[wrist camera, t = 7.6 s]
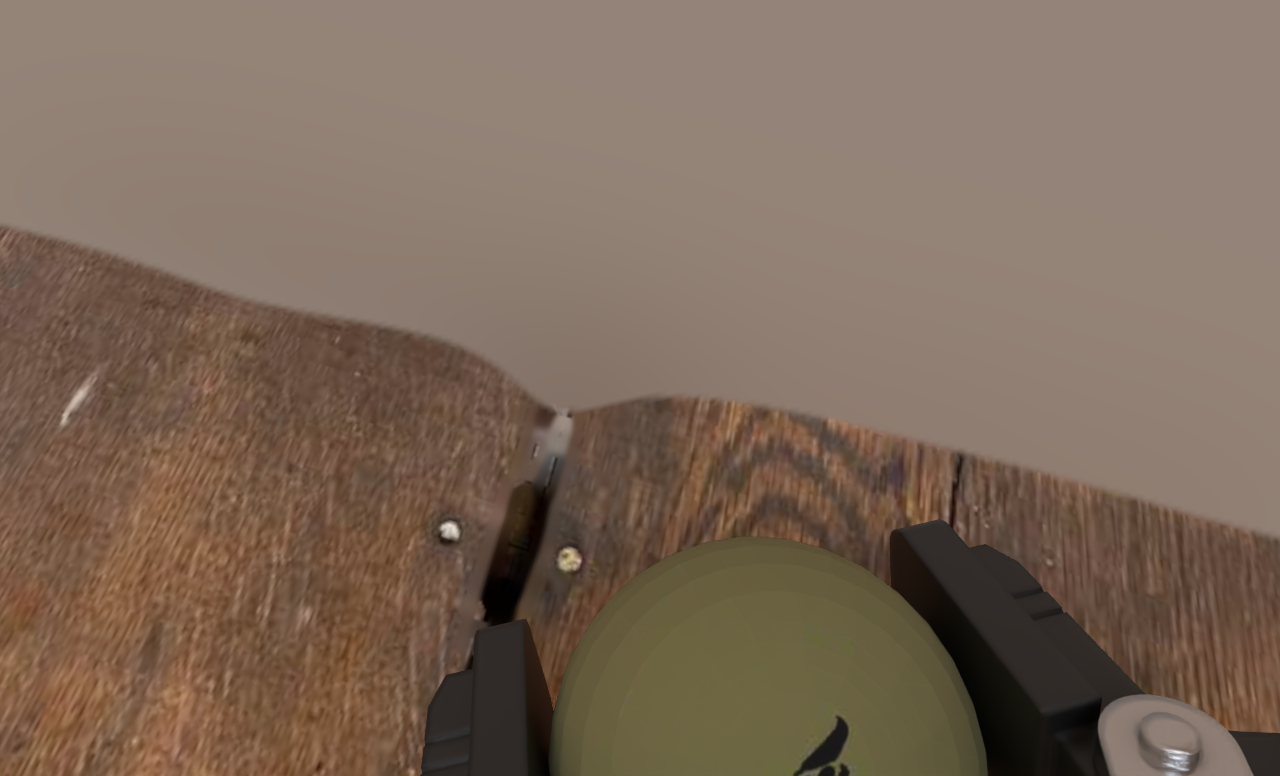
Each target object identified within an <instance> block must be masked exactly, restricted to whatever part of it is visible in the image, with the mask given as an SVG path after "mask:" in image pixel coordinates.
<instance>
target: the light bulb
mask: <svg viewBox="0 0 1280 776" xmlns="http://www.w3.org/2000/svg"><path fill="white" fill-rule="evenodd" d="M548 762H549V773H550V776H988V772H987V760H986V750H985V747H984V743H983V739H982V735H981V731H980V728H979V724H978V720H977V716H976V712H975V709H974V705H973V702H972V700H971V698H970V695H969V693H968V691H967V689H966V687H965V684H964V682H963V680H962V678H961V676H960V674H959V671H958V669H957V667H956V665H955V663H954V660H953V659H952V657H951V656H950V655H949V653H948V652H947V650H946V649H945V647H944V646H943V644H942V643H941V641H940V640H939V638H938V637H937V636H936V634H935V633H934V631H933V630H932V628H931V627H930V625H929V624H928V623H927V622H926V621H925V620H924V619H923V618H922V617H921V616H920V615H919V613H918V612H917V611H916V610H915V609H914V608H913V607H912V606H911V605H910V604H909V603H908V602H907V601H906V600H905V599H904V598H903V597H902V596H901V595H900V594H899V593H898V592H897V591H895V590H894V589H892V588H891V587H890V586H888V585H887V584H885V583H884V582H883V581H881V580H880V579H878V578H877V577H876V576H874V575H873V574H871V573H870V572H869V571H867V570H866V569H864V568H863V567H861V566H860V565H857V564H855V563H853V562H851V561H849V560H847V559H845V558H842V557H840V556H838V555H836V554H834V553H832V552H830V551H828V550H825V549H823V548H819V547H815V546H811V545H807V544H803V543H799V542H795V541H791V540H787V539H780V538H768V537H737V538H731V539H724V540H718V541H712V542H706V543H703V544H700V545H697V546H695V547H692V548H689V549H686V550H684V551H681V552H678V553H675V554H673V555H670V556H667V557H666V558H664V559H662V560H661V561H659V562H658V563H656V564H654V565H653V566H651V567H649V568H648V569H646V570H644V571H643V572H641V573H640V574H638V575H636V576H635V577H634V578H633V579H632V580H631V581H629V582H628V583H627V584H626V585H625V586H624V587H623V588H621V589H620V590H619V591H618V592H617V593H616V594H615V595H614V596H613V597H612V598H611V599H610V600H609V601H608V603H607V604H606V605H605V606H604V607H603V608H602V609H601V611H600V612H599V613H598V614H597V615H596V616H595V618H594V619H593V621H592V622H591V624H590V626H589V627H588V629H587V631H586V632H585V634H584V636H583V637H582V639H581V640H580V642H579V644H578V645H577V647H576V649H575V650H574V652H573V654H572V656H571V659H570V661H569V663H568V666H567V668H566V671H565V673H564V676H563V679H562V683H561V686H560V690H559V694H558V698H557V701H556V705H555V709H554V713H553V716H552V725H551V737H550V749H549V760H548Z"/></svg>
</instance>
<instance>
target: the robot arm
mask: <svg viewBox="0 0 1280 776" xmlns="http://www.w3.org/2000/svg"><path fill="white" fill-rule="evenodd" d="M890 571H891V588H892V589H894V590H895V591H897V592H898V593H899V594H900V595H901V596H902V597H903V598H904V599H905V600H906V601H907V602H908V603H909V604H910V605H911V606H912V607H913V608H914V609H915V610H916V611H917V612H918V613H919V615H920V616H921V617H922V618H923V619H924V620H925V621H926V622H927V623H928V624H929V625H930V627H931V628H932V630H933V631H934V633H935V634H936V636H937V637H938V638H939V640H940V641H941V643H942V644H943V646H944V647H945V649H946V650H947V652H948V653H949V655H950V656H951V657H952V659H953V660H954V663H955V665H956V667H957V669H958V671H959V674H960V676H961V678H962V680H963V682H964V684H965V687H966V689H967V691H968V693H969V695H970V698H971V700H972V702H973V705H974V709H975V712H976V716H977V720H978V724H979V728H980V731H981V735H982V739H983V743H984V747H985V750H986V760H987V772H988V776H1280V733H1261V732H1239V731H1228V730H1226V729H1225V728H1224V727H1223V726H1222V725H1221V724H1220V723H1218V722H1217V721H1216V720H1214V719H1213V718H1212V717H1210V716H1209V715H1207V714H1206V713H1204V712H1202V711H1201V710H1199V709H1197V708H1195V707H1193V706H1191V705H1188V704H1186V703H1183V702H1181V701H1178V700H1175V699H1171V698H1167V697H1163V696H1157V695H1146V694H1145V693H1144V692H1143V691H1142V690H1141V689H1140V688H1139V687H1138V686H1137V685H1136V684H1135V683H1134V682H1133V681H1132V680H1131V679H1130V678H1129V677H1128V676H1127V675H1126V674H1125V673H1124V672H1123V671H1122V670H1121V668H1120V667H1119V666H1118V665H1117V664H1116V663H1115V662H1114V661H1113V660H1112V659H1111V658H1110V657H1109V656H1108V655H1107V654H1106V653H1105V652H1104V651H1103V650H1102V649H1101V648H1100V647H1099V646H1098V644H1097V643H1096V642H1095V641H1094V640H1093V639H1092V638H1091V637H1090V636H1089V635H1088V634H1087V633H1086V632H1085V631H1084V630H1083V629H1082V628H1081V627H1080V626H1079V625H1078V624H1077V623H1076V622H1075V620H1074V619H1073V618H1072V617H1071V616H1070V615H1069V614H1068V613H1067V612H1066V613H1064V612H1063V611H1062V607H1061V606H1060V605H1059V604H1058V603H1057V602H1056V601H1055V600H1054V599H1053V598H1052V596H1051V595H1050V594H1049V593H1048V592H1044V591H1043V589H1042V586H1041V585H1040V584H1039V583H1038V582H1037V581H1036V580H1035V579H1034V578H1033V577H1032V576H1031V575H1030V574H1029V573H1028V571H1027V570H1026V569H1025V568H1024V567H1023V566H1022V565H1021V564H1020V563H1019V562H1017V561H1015V560H1014V559H1012V558H1010V557H1008V556H1006V555H1004V554H1003V553H1001V552H999V551H997V550H995V549H993V548H991V547H990V546H988V545H986V544H984V545H980V546H976V547H971V548H969V547H968V546H967V545H966V544H965V543H964V542H963V540H962V539H961V538H960V537H959V536H958V535H957V534H956V533H955V531H954V530H953V529H952V528H951V527H950V526H949V525H948V524H947V523H946V522H945V521H943V520H935V521H930V522H926V523H922V524H918V525H913V526H909V527H905V528H901V529H897V530H893V531H892V533H891V535H890ZM553 713H554V712H553V707H552V702H551V698H550V694H549V690H548V687H547V683H546V680H545V677H544V673H543V670H542V667H541V663H540V660H539V657H538V653H537V650H536V647H535V643H534V640H533V637H532V633H531V630H530V627H529V624H528V622H527V620H526V619H522V620H518V621H514V622H509V623H505V624H501V625H497V626H493V627H488V628H484V629H480V630H477V631H476V634H475V643H474V662H473V669H470V670H465V671H461V672H457V673H453V674H449V675H446V676H445V678H444V680H443V681H442V683H441V685H440V687H439V689H438V690H437V692H436V694H435V696H434V698H433V699H432V701H431V703H430V705H429V707H428V714H427V722H426V731H425V747H424V748H423V757H422V766H421V768H422V775H420V776H550V773H549V762H548V760H549V749H550V737H551V725H552V716H553Z"/></svg>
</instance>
